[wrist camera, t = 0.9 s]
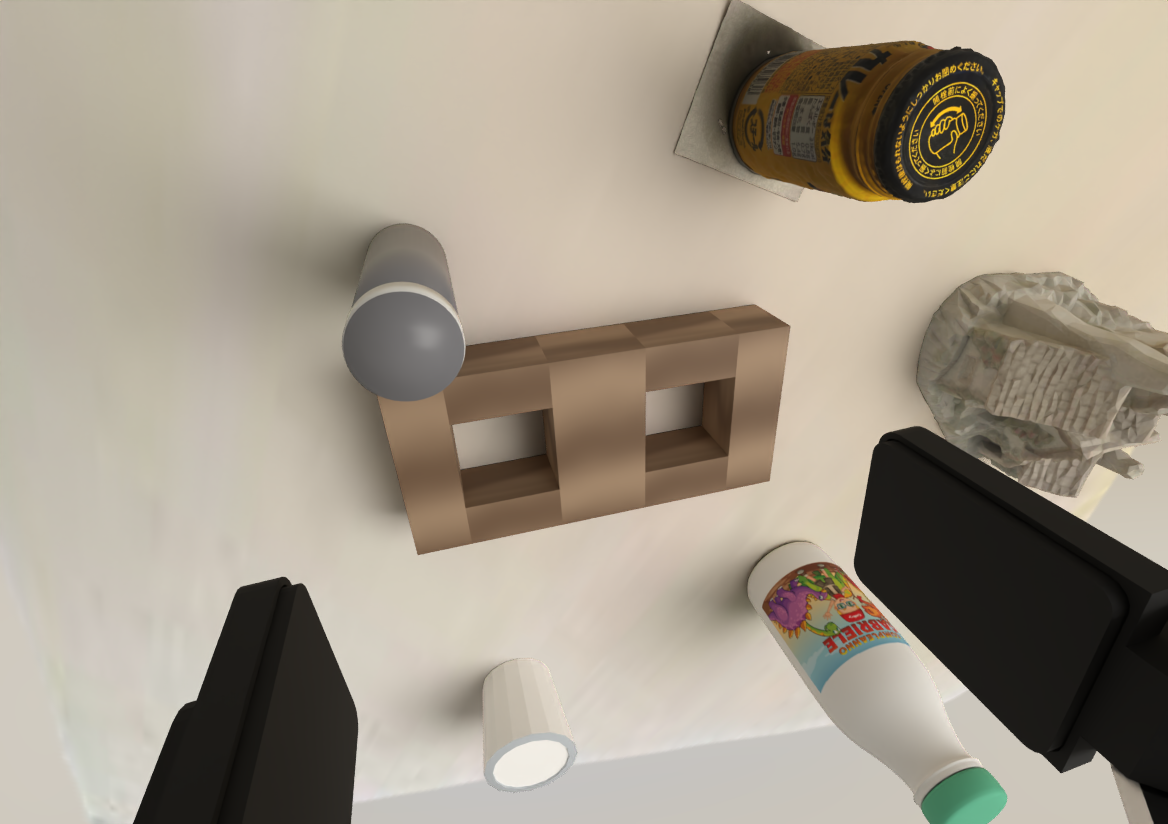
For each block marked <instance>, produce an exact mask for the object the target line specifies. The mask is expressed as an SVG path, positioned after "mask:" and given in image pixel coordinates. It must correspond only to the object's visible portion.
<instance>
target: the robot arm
mask: <svg viewBox="0 0 1168 824" xmlns="http://www.w3.org/2000/svg"><path fill="white" fill-rule="evenodd" d="M854 567H855V571H856V574H857V576H858V577H859V579H860V580H861V582H862V583H863V584H864V585H865V586H866V587H867V588H868V589H869V590H870V591H871V592H872V593H873V594H874V595H875V596H876V597H877V598H878V599H879V600H880V601H881V602H882V603H883V604H884V605H885V606H886V607H887V608H888V609H889V610H890V611H891V612H892V613H893V614H894V615H895V616H896V617H897V618H898V619H899V620H900V621H901V622H902V623H903V624H904V625H905V626H906V627H907V628H908V629H909V630H910V631H911V632H912V633H913V634H914V635H915V636H916V637H917V638H918V639H919V640H920V641H921V642H922V643H923V644H924V645H925V646H926V647H927V648H928V649H929V650H930V651H931V652H932V653H933V654H934V655H935V656H936V657H937V658H938V659H939V660H940V661H941V662H942V663H943V664H944V665H945V666H946V667H947V668H948V669H949V670H950V671H951V672H952V673H953V674H954V675H955V676H956V677H957V678H958V679H959V680H960V681H961V682H962V683H963V684H964V685H965V686H966V687H967V688H968V689H969V690H970V691H971V692H972V693H973V694H974V695H975V696H976V697H977V698H978V699H979V700H980V701H981V702H982V703H983V704H984V705H985V706H986V707H987V708H988V709H989V710H990V711H991V712H992V713H993V714H994V715H995V716H996V717H997V718H998V719H999V720H1000V721H1001V722H1002V723H1003V724H1004V725H1005V726H1006V727H1007V728H1008V729H1009V730H1010V731H1011V732H1012V733H1013V734H1014V735H1015V736H1016V737H1017V738H1018V739H1019V740H1020V741H1021V742H1022V743H1023V744H1024V745H1025V746H1026V747H1028V748H1029V749H1031V750H1033V751H1034V752H1037V753H1040V754H1042V755H1043V756H1044V757H1045V758H1046V759H1047V760H1048V761H1049V762H1050V763H1051V764H1052V765H1053V766H1054V767H1055V768H1056V769H1057V770H1058V771H1059V772H1060V773H1063V772H1066V771H1068V770H1071V769H1073V768H1076V767H1078V766H1081V765H1083V764H1086V763H1088V762H1091V760H1092V759H1093V757H1094V755H1095V753H1096V751H1098V752H1099V753H1100V754H1101V755H1102V756H1104V757H1105V758H1106V759H1107V760H1108V761H1109V762H1110V763H1111V768H1112V772H1113V775H1114V777H1115V781H1116V784H1117V787H1118V790H1119V793H1120V796H1121V799H1122V802H1123V806H1124V809H1125V812H1126V815H1127V818H1128V821H1129V824H1168V570H1167V569H1165V568H1163V567H1162V566H1160V565H1158V564H1156V563H1155V562H1153V561H1151V560H1150V559H1148V558H1146V557H1144V556H1143V555H1141V554H1139V553H1138V552H1136V551H1134V550H1133V549H1131V548H1129V547H1127V546H1126V545H1124V544H1122V543H1120V542H1119V541H1117V540H1115V539H1114V538H1112V537H1110V536H1108V535H1107V534H1105V533H1103V532H1102V531H1100V530H1098V529H1097V528H1095V527H1093V526H1091V525H1090V524H1088V523H1086V522H1085V521H1083V520H1081V519H1080V518H1078V517H1076V516H1074V515H1073V514H1071V513H1069V512H1068V511H1066V510H1064V509H1062V508H1061V507H1059V506H1057V505H1056V504H1054V503H1052V502H1050V501H1049V500H1047V499H1045V498H1044V497H1042V496H1040V495H1038V494H1037V493H1035V492H1033V491H1032V490H1030V489H1028V488H1027V487H1025V486H1023V485H1021V484H1020V483H1018V482H1016V481H1015V480H1013V479H1011V478H1009V477H1008V476H1006V475H1004V474H1003V473H1001V472H999V471H997V470H996V469H994V468H992V467H991V466H989V465H987V464H985V463H984V462H982V461H980V460H979V459H977V458H975V457H973V456H972V455H970V454H968V453H967V452H965V451H963V450H962V449H960V448H958V447H956V446H955V445H953V444H951V443H950V442H948V441H946V440H944V439H943V438H941V437H939V436H938V435H936V434H934V433H932V432H931V431H929V430H927V429H925V428H923V427H920V426H914V427H910V428H906V429H901V430H897V431H893V432H889V433H886V434H884V435H883V436H882V437H881V439H880V441H879V444H877V445H876V446H875V448H874V450H873V455H872V460H871V466H870V472H869V477H868V483H867V489H866V495H865V500H864V506H863V512H862V517H861V523H860V529H859V535H858V540H857V546H856V552H855V557H854ZM357 738H358V718H357V711H356V707H355V704H354V701H353V699H352V697H351V694H350V692H349V689H348V687H347V685H346V682H345V680H344V677H343V675H342V673H341V670H340V668H339V665H338V663H337V661H336V658H335V656H334V653H333V651H332V649H331V646H330V644H329V641H328V639H327V637H326V634H325V632H324V629H323V627H322V624H321V622H320V620H319V617H318V615H317V612H316V610H315V608H314V605H313V603H312V600H311V598H310V596H309V593H308V591H307V589H306V587H305V586H304V585H303V584H301V583H300V584H296V585H292V584H291V583H290V581H289V580H288V579H287V578H286V577H280V578H276V579H272V580H268V581H263V582H259V583H255V584H251V585H247V586H242V587H240V588H239V589H238V590H237V592H236V594H235V596H234V599H233V601H232V604H231V607H230V610H229V612H228V615H227V618H226V621H225V623H224V626H223V629H222V632H221V634H220V637H219V640H218V643H217V645H216V648H215V651H214V654H213V656H212V659H211V662H210V665H209V668H208V670H207V673H206V676H205V679H204V681H203V684H202V687H201V690H200V692H199V695H198V698H197V701H193V702H190V703H186V704H185V705H184V706H183V707H182V708H181V709H180V710H179V711H178V713H177V715H176V717H175V719H174V721H173V723H172V725H171V727H170V730H169V733H168V735H167V738H166V740H165V743H164V745H163V748H162V751H161V753H160V756H159V758H158V761H157V763H156V766H155V769H154V771H153V774H152V776H151V779H150V781H149V784H148V786H147V789H146V792H145V794H144V797H143V799H142V802H141V804H140V807H139V810H138V812H137V815H136V817H135V820H134V822H133V824H351V815H352V802H353V789H354V776H355V763H356V751H357Z"/></svg>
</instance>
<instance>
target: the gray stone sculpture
mask: <svg viewBox="0 0 1168 824" xmlns="http://www.w3.org/2000/svg"><path fill="white" fill-rule="evenodd" d="M919 356H920V357H919V361H918V364H919V367H918V370H919V371H917V384H918V386H919V388H920V390H921V392H922V395H923V396H924V398H925V399H926V401H927V404H928V405H929V407H930V409H931V411H932V413H933V414H934V415H935V416H934V418H935V419H936V420H937V422H938V423H939V426H940V428H941V430H942V432H943V434H944V436H945V438H946V440H947V441H948V442H950V443H951V444H953V445H955V446H956V447H958V448H960V449H962V450H963V451H965V452H967V453H968V454H970V455H972V456H973V457H975V458H977V459H978V458H981V457H986V458H987V459H991V464H992V465H994V466H996V467H997V468H999V469H1000V470H1001V471H1003V472H1005V473H1006V474H1007V475H1008V476H1012V477H1014V478H1018V483H1020V484H1022V485H1025V486H1028V487H1033V488H1037V489H1039V490H1042V491H1045V492H1049V493H1053V494H1056V495H1059V496H1066V497H1075V498H1077V496H1078V495H1079V493H1080V491H1081V489H1082V487H1083V485H1084V483H1085V481H1086V479H1087V477H1088V476H1089V474H1090V472H1091V471H1092V469H1093V467H1094V466H1095V464H1098V465H1100V466H1103V467H1105V468H1107V469H1109V470H1112V471H1114V472H1116V473H1119V474H1120V475H1122V476H1124V477H1125V478H1129V479H1135V478H1137V477H1138V476H1140V475H1142V474H1143V472H1144V465H1143V464H1141V463H1139V462H1138V461H1136V460H1134V459H1132V458H1131V457H1130V456H1129V455H1128V454H1127V453H1125V452H1124V451H1122V450H1121V449H1122V448H1126V447H1132V446H1135V447H1137V446H1139V445H1146V444H1151V443H1156V442H1159V441H1161V438H1160V435H1159V434H1158V433H1157V432H1156V431H1155V430H1154V429H1155V428H1156V426H1157V423H1158V421H1159V418H1160V416H1161V415H1166V416H1168V333H1165V332H1161V331H1158V330H1155V329H1154V328H1153V327H1152V326H1151V324H1150V323H1149V322H1143V321H1141V320H1139V319H1138V318H1136V317H1134V316H1130V315H1128V312H1127V311H1125V310H1123V309H1121V308H1119V307H1116V306H1109V305H1106V304H1103V303H1100V302H1098V298H1097V297H1096V296H1095V295H1093V294H1092V293H1091V292H1090V290H1089V289H1088V288H1086V287H1085V286H1084V282H1082V281H1079V280H1077V279H1075V278H1073V277H1071V276H1068V275H1066V274H1064V273H1061V272H1052V273H1038V274H1036V273H1033V274H1024V273H1013V274H993V275H987V274H984V275H981V276H977V277H975V278H973V279H972V280H970V281H968V282H966V283H964V284H962V285H961V287H958V288H957V289H956V290H955V291H954V292H953V293H952V294H951V295H950V296H949V297H948V298H947V299H946V300H945V301H944V302H943V304H942V305H941V306H940V309H939V310H938V311H937V312H936V313H935V314H934V316H933V318H932V320H931V323H930V325H929V327H928V329H927V331H926V334H925V336H924V339H923V344H922V347H921V351H920V355H919Z"/></svg>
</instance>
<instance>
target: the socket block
mask: <svg viewBox="0 0 1168 824" xmlns="http://www.w3.org/2000/svg"><path fill="white" fill-rule="evenodd" d="M789 332H790V326H789V325H788V324H786V323H785V322H783V321H781V320H780V319H778V318H776V317H775V316H773V315H771V314H770V313H768V312H767V311H765V310H763V309H762V308H760V307H758V306H757V305H749V306H742V307H735V308H728V309H721V310H714V311H707V312H700V313H693V314H686V315H679V316H672V317H665V318H658V319H651V320H644V321H637V322H630V323H623V324H616V325H609V326H602V327H595V328H588V329H581V330H574V331H567V332H560V333H553V334H546V335H539V336H532V337H525V338H518V339H511V340H504V341H497V342H490V343H483V344H476V345H469V346H465V356H464V361H463V364H462V367H461V369H460V371H459V372H458V374H457V376H456V377H455V379H454V380H453V381H452V382H451V383H450V384H449V385H448V386H447V387H446V388H445V389H444V390H442V391H441V392H439V393H438V394H436V395H433V396H431V397H429V398H426V399H422V400H418V401H409V402H408V401H394V400H390V399H386V398H383V397H380V396H378V395H377V398H378V402H379V405H380V409H381V413H382V417H383V421H384V425H385V429H386V433H387V437H388V441H389V445H390V448H391V452H392V456H393V460H394V464H395V468H396V472H397V476H398V480H399V484H400V488H401V491H402V495H403V499H404V503H405V507H406V511H407V515H408V519H409V523H410V527H411V531H412V534H413V538H414V542H415V546H416V550H417V554H418V555H420V554H425V553H430V552H435V551H439V550H444V549H449V548H454V547H458V546H463V545H468V544H473V543H477V542H482V541H487V540H492V539H496V538H501V537H506V536H511V535H515V534H520V533H525V532H530V531H534V530H539V529H544V528H549V527H553V526H558V525H563V524H568V523H572V522H577V521H582V520H587V519H591V518H596V517H601V516H606V515H610V514H615V513H620V512H625V511H629V510H634V509H639V508H644V507H648V506H653V505H658V504H663V503H667V502H672V501H677V500H682V499H686V498H691V497H696V496H701V495H705V494H710V493H715V492H719V491H724V490H729V489H734V488H738V487H743V486H748V485H753V484H757V483H762V482H767V481H770V473H771V466H772V459H773V451H774V444H775V436H776V429H777V422H778V414H779V407H780V399H781V392H782V384H783V377H784V370H785V362H786V355H787V347H788V340H789ZM702 382H704V397H703V413H702V426H696V427H691V428H685V429H680V430H675V431H669V432H664V433H658V434H653V435H648V436H645V414H646V392H649V391H655V390H661V389H667V388H673V387H679V386H685V385H690V384H696V383H702ZM537 410H542V413H543V423H544V433H545V444H546V454H545V455H539V456H534V457H529V458H523V459H518V460H512V461H507V462H502V463H496V464H491V465H485V466H480V467H475V468H469V469H464V470H460V465H459V460H458V454H457V449H456V444H455V438H454V433H453V428H452V425H454V424H460V423H466V422H472V421H478V420H483V419H489V418H495V417H501V416H507V415H513V414H519V413H525V412H531V411H537Z"/></svg>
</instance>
